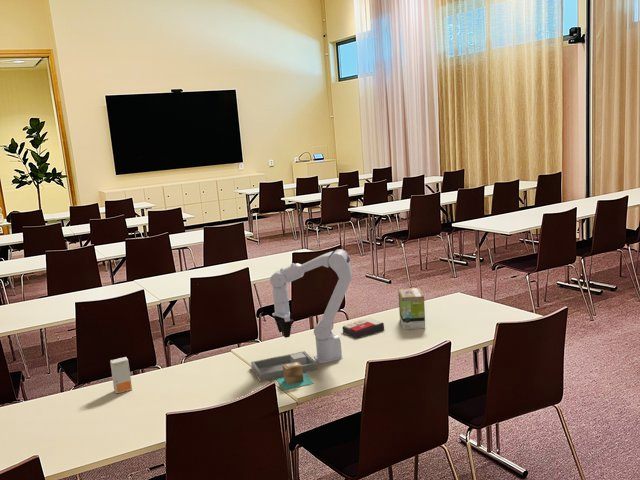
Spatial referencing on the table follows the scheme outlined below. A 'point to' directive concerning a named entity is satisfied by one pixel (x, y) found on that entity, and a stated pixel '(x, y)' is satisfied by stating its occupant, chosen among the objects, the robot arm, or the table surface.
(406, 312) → the tea box
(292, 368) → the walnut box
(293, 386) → the mat
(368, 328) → the black and red box
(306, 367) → the parts bin
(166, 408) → the table surface
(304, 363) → the grey box
